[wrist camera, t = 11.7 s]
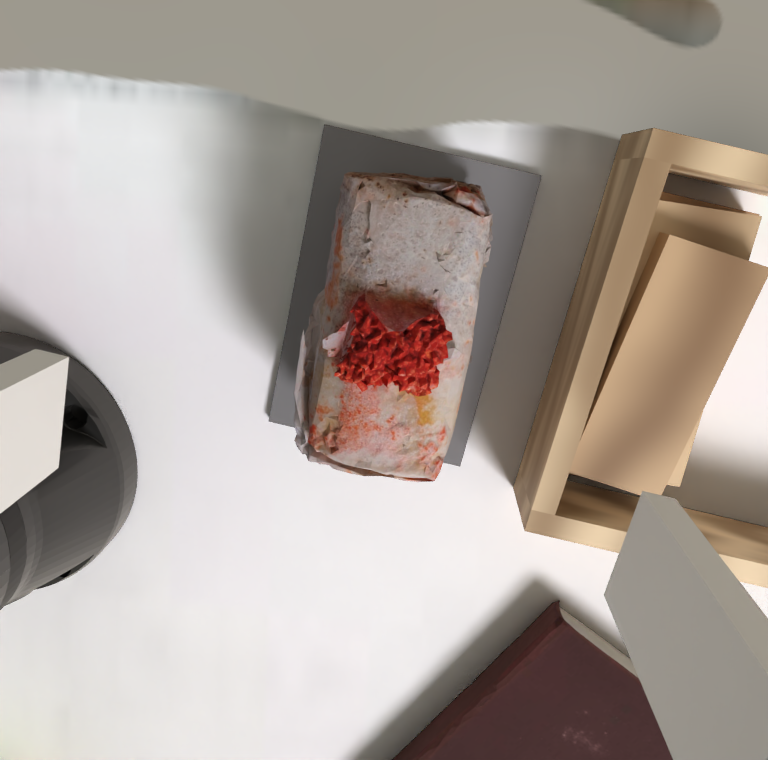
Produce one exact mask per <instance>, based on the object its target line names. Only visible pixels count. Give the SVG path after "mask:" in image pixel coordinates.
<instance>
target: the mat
mask: <svg viewBox="0 0 768 760" xmlns="http://www.w3.org/2000/svg"><path fill="white" fill-rule="evenodd" d="M348 172H368V173H382V172H384V173H405V174H409V175H414V176H420V177H426V178H431V177H449V178H451V177H452V179H453V180H455V181H461V182H465V183H467V184H474V185H479V186H481V188H482V192H483V195H484V196H485V201H486V203H487V205H488V207H489V209H490V213H492V214H493V215H492V221H493V225H492V226H491V230H492V234H493V235H492V236H493V240H492V241H491V242H490V244H491V251H490V256H489V261H488V262H487V263H485V265H486V266H487V267H483V270H482V274H481V278H480V288H479V300H478V307H477V313H476V319H475V325H474V337H473V343H472V350H471V356H473V357H472V361H471V363H470V362H469V363H470V364H468V369H467V373H466V377H465V382H464V386H463V391H462V396H461V401H460V406H459V410H458V414H457V418H456V423H455V427H454V431H453V435H452V438H451V441H450V444H449V447H448V450H447V453H446V455H445V457H444V460H443V462H444V463H448V464H452V465H456V466H460V465H461V461H462V458H463V454H464V451H465V447H466V443H467V440H468V436H469V433H470V429H471V426H472V422H473V419H474V415H475V411H476V408H477V404H478V401H479V397H480V394H481V390H482V386H483V383H484V379H485V376H486V372H487V369H488V365H489V361H490V358H491V354H492V351H493V347H494V344H495V340H496V336H497V333H498V329H499V326H500V322H501V319H502V315H503V311H504V308H505V304H506V301H507V297H508V294H509V290H510V286H511V283H512V279H513V276H514V272H515V269H516V265H517V261H518V258H519V254H520V251H521V247H522V244H523V240H524V237H525V233H526V229H527V226H528V222H529V219H530V215H531V212H532V208H533V204H534V201H535V197H536V194H537V190H538V187H539V183H540V179H541V175H537V174H533V173H528V172H524V171H520V170H516V169H511V168H507V167H503V166H499V165H494V164H490V163H486V162H482V161H478V160H473V159H469V158H465V157H461V156H456V155H452V154H448V153H444V152H439V151H435V150H431V149H427V148H422V147H418V146H414V145H410V144H405V143H401V142H397V141H393V140H388V139H384V138H380V137H376V136H371V135H367V134H363V133H359V132H354V131H350V130H346V129H342V128H338V127H333V126H329V125H325V124H324V130H323V135H322V140H321V146H320V151H319V156H318V162H317V167H316V172H315V178H314V183H313V188H312V194H311V199H310V204H309V210H308V215H307V220H306V225H305V231H304V236H303V241H302V247H301V252H300V257H299V263H298V268H297V273H296V279H295V284H294V289H293V295H292V300H291V305H290V311H289V316H288V321H287V327H286V332H285V337H284V343H283V348H282V353H281V359H280V364H279V369H278V374H277V380H276V385H275V390H274V396H273V401H272V406H271V412H270V417H269V422H273V423H278V424H282V425H286V426H290V427H295V425H294V421H293V419H294V413H295V397H294V391H295V385H296V369H297V365H298V361H299V352H300V339H301V335H302V332H303V329H304V335H305V333H306V330H307V328H308V326H309V316H310V314H311V312H312V308H313V304H314V302H315V300H316V297H317V295H318V294H319V293H320V292H321V291H322V290H323V289H324V288H325V284H326V276H327V264H328V260H329V254H330V249H331V244H332V231H333V230H334V224H335V222H336V208H337V206H338V202H339V198H340V187H341V184H342V182H343V178H344V174H346V173H348Z"/></svg>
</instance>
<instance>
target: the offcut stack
mask: <svg viewBox="0 0 768 760" xmlns="http://www.w3.org/2000/svg"><path fill="white" fill-rule="evenodd" d="M761 218H762V216H759V214H755V213H751V212H746V211H742V210H738V209H734V208H729V207H725V206H721V205H717V204H712V203H708V202H704V201H700V200H695V199H691V198H687V197H683V196H679V195H674V194H670V193H666V192H662V194H661V197H660V200H659V203H658V206H657V209H656V212H655V215H654V218H653V221H652V224H651V227H650V230H649V233H648V237H647V240H646V243H645V246H644V249H643V252H642V255H641V258H640V261H639V264H638V267H637V270H636V273H635V276H634V279H633V282H632V285H631V288H630V291H629V294H628V297H627V300H626V303H625V306H624V309H623V312H622V315H621V318H620V321H619V324H618V327H617V330H616V333H615V336H614V339H613V342H612V345H611V348H610V351H609V354H608V357H607V360H606V363H605V366H604V369H603V372H602V375H601V378H600V381H599V384H598V387H597V390H596V393H595V396H594V399H593V402H592V405H591V408H590V411H589V414H588V417H587V420H586V423H585V426H584V430H583V433H582V436H581V439H580V442H579V445H578V448H577V451H576V454H575V457H574V460H573V463H572V466H571V469H570V472H569V474H571V475H575V476H580V477H584V478H588V479H591V480H594V481H597V482H600V483H603V484H607V485H610V486H613V487H616V488H619V489H622V490H625V491H628V492H631V493H634V494H637V495H640V496H641V493H642V491H645V492H650V493H654V494H658V495H662V493H663V491H664V489H665V487H666V485H671V486H677V487H680V485H681V482H682V478H683V475H684V472H685V468H686V465H687V462H688V459H689V455H690V452H691V449H692V445H693V442H694V439H695V435H696V432H697V429H698V426H699V422H700V419H701V416H702V412H703V409H704V407H705V405H706V403H707V401H708V399H709V397H710V395H711V392H712V390H713V388H714V386H715V384H716V382H717V380H718V378H719V376H720V374H721V372H722V370H723V368H724V366H725V364H726V362H727V360H728V357H729V355H730V353H731V351H732V349H733V347H734V345H735V343H736V341H737V339H738V337H739V335H740V333H741V331H742V329H743V327H744V325H745V322H746V320H747V318H748V316H749V314H750V312H751V310H752V308H753V306H754V304H755V302H756V300H757V298H758V296H759V294H760V292H761V290H762V287H763V285H764V283H765V281H766V279H767V277H768V267H765V266H762V265H759V264H756V263H753V262H750V261H749V257H750V254H751V251H752V248H753V244H754V241H755V238H756V234H757V231H758V228H759V225H760V221H761Z"/></svg>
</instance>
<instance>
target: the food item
mask: <svg viewBox="0 0 768 760" xmlns="http://www.w3.org/2000/svg"><path fill="white" fill-rule="evenodd" d="M492 215H493V214H492V213H490V209H489V207H488V205H487V203H486V201H485V196H484V195H483V192H482V188H481V186H479V185H474V184H467V183H465V182H461V181H455V180H453V179H452V177H451V178H449V177H431V178H426V177H420V176H414V175H409V174H405V173H384V172H382V173H368V172H348V173H346V174H344V178H343V182H342V184H341V187H340V198H339V202H338V206H337V208H336V222H335V224H334V230H333V231H332V244H331V249H330V254H329V260H328V264H327V276H326V284H325V288H324V289H323V290H322V291H321V292H320V293H319V294H318V295H317V297H316V300H315V302H314V304H313V308H312V312H311V314H310V316H309V326H308V328H307V330H306V333H305V335H304V329H303V332H302V335H301V339H300V352H299V361H298V365H297V369H296V385H295V391H294V397H295V413H294V419H293V421H294V425H295V429H296V432H297V435H296V438H295V442H296V445H297V447H298V449H299V450H300V451H301V453H302V454H306V456H307V459H308V461H311V462H317V463H319V464H326V465H330V466H331V467H332V468H333V469H336V470H340V471H344V472H347V473H351V474H356V475H362V476H386V477H391V478H395V479H399V480H403V481H416V482H422V481H435V479H436V477H437V476H438V474H439V472H440V470H441V467H442V464H443V460H444V457H445V455H446V453H447V450H448V447H449V444H450V441H451V438H452V435H453V431H454V427H455V423H456V418H457V414H458V410H459V406H460V401H461V396H462V391H463V386H464V382H465V377H466V373H467V369H468V364H470V363H471V361H472V357H473V356H471V350H472V343H473V337H474V325H475V319H476V313H477V307H478V300H479V288H480V278H481V274H482V270H483V267H487V266H486V265H485V263H487V262H488V261H489V256H490V251H491V244H490V242H491V241H492V240H493V236H492V235H493V234H492V230H491V226H492V225H493V221H492ZM469 362H470V363H469Z"/></svg>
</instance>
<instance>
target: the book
mask: <svg viewBox="0 0 768 760" xmlns="http://www.w3.org/2000/svg"><path fill="white" fill-rule="evenodd" d="M392 760H673V758H672V756H671V753H670V751H669V749H668V746H667V744H666V741H665V739H664V737H663V734H662V732H661V730H660V727H659V725H658V722H657V720H656V718H655V715H654V713H653V710H652V708H651V706H650V703H649V701H648V699H647V696H646V694H645V691H644V689H643V687H642V684H641V682H640V680H639V677H638V675H637V672H636V670H635V668H634V665H633V663H632V660H631V659H630V658H629V657H627V656H626V655H625V654H623V653H622V652H620V651H619V650H618V649H616V648H615V647H614V646H612V645H611V644H610V643H608V642H607V641H606V640H604V639H603V638H602V637H600V636H599V635H597V634H596V633H595V632H593V631H592V630H591V629H589V628H588V627H587V626H585V625H584V624H582V623H581V622H580V621H578V620H577V619H576V618H574V617H573V616H571V615H570V614H569V613H567V612H566V611H565V610H563V609H562V608H561V607H560V606H559V601H557V602H554V603H552V604H551V605H550V606H549V607H548V608H547V609H546V610H545V611H544V612H543V613H542V614H541V615H540V616H539V617H538V618H537V619H536V620H535V621H534V622H533V623H532V624H531V625H530V626H529V627H528V628H527V629H526V630H525V631H524V632H523V633H522V634H521V636H520V637H518V638H517V639H516V640H515V641H514V642H513V643H512V644H511V645H510V646H509V647H508V648H507V649H506V650H505V651H504V652H503V653H502V654H501V655H500V656H499V657H498V658H497V659H496V660H495V661H494V662H493V663H492V664H491V665H490V666H489V667H488V668H487V669H486V670H485V671H484V672H482V673H481V674H480V675H479V676H478V677H477V678H476V680H475V681H474V682H473V683H472V684H471V685H470V686H469V687H467V688H466V689H465V690H464V691H463V692H462V693H461V694H460V695H459V696H458V697H457V698H456V699H455V700H454V701H452V702H451V703H450V704H449V705H448V706H447V707H446V708H445V709H444V710H443V711H442V712H441V713H440V714H439V715H438V716H437V717H436V718H435V719H434V720H433V721H432V722H431V723H430V724H429V725H428V726H427V727H426V728H425V729H424V730H423V731H422V732H421V733H420V734H419V735H418V736H417V737H415V738H414V739H413V740H412V741H411V742H410V743H409V744H408V745H407V746H406V747H405V748H404V749H403V750H402V751H401V752H400V753H399V754H398V755H396V756H395V757H394V758H393V759H392Z"/></svg>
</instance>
